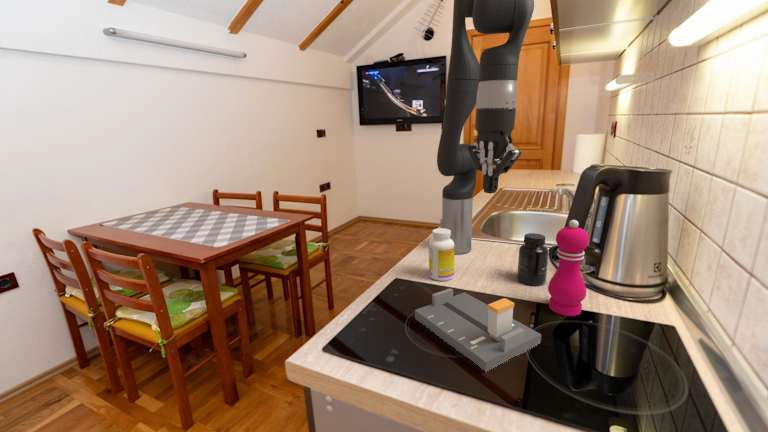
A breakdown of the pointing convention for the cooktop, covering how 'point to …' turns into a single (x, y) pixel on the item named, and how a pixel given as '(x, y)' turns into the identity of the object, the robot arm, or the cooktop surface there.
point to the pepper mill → (569, 271)
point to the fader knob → (500, 318)
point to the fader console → (474, 329)
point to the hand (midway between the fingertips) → (490, 192)
